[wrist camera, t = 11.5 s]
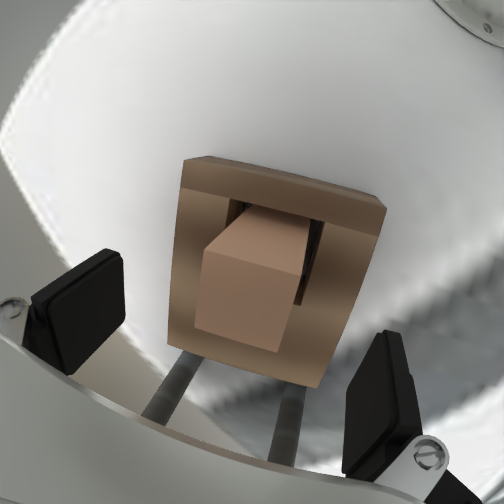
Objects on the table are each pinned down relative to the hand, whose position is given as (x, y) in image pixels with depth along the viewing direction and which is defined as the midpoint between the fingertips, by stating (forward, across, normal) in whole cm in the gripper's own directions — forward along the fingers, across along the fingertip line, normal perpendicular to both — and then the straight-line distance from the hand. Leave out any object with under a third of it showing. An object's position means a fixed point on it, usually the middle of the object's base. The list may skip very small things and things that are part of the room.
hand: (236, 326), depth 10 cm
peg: (+12, 0, +1) cm, 13 cm away
